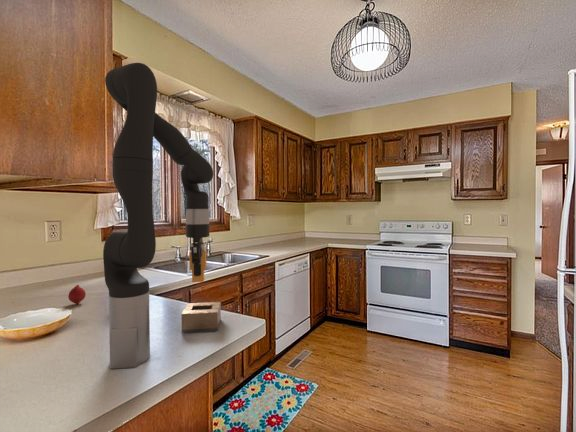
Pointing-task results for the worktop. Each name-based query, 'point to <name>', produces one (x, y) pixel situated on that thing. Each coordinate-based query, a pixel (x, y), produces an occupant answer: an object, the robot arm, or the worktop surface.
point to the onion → (77, 294)
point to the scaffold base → (201, 317)
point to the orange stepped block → (203, 267)
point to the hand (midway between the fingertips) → (198, 274)
